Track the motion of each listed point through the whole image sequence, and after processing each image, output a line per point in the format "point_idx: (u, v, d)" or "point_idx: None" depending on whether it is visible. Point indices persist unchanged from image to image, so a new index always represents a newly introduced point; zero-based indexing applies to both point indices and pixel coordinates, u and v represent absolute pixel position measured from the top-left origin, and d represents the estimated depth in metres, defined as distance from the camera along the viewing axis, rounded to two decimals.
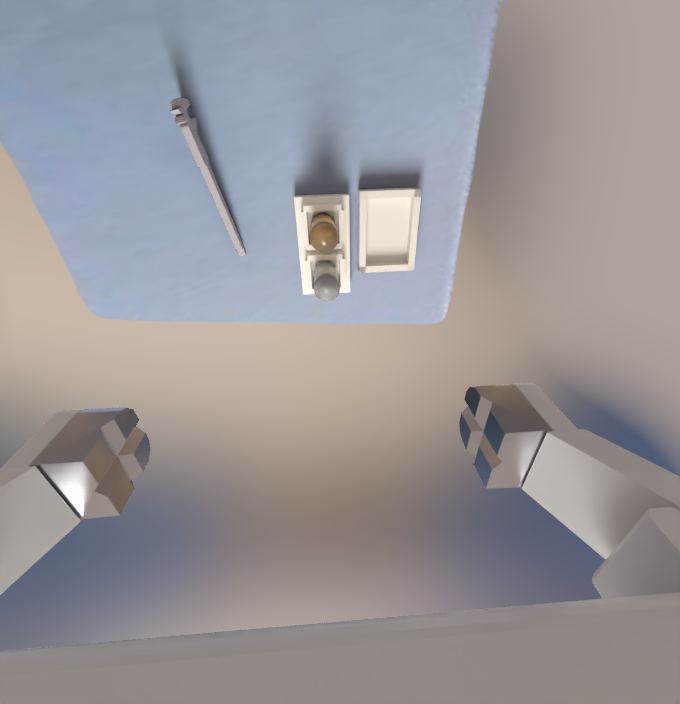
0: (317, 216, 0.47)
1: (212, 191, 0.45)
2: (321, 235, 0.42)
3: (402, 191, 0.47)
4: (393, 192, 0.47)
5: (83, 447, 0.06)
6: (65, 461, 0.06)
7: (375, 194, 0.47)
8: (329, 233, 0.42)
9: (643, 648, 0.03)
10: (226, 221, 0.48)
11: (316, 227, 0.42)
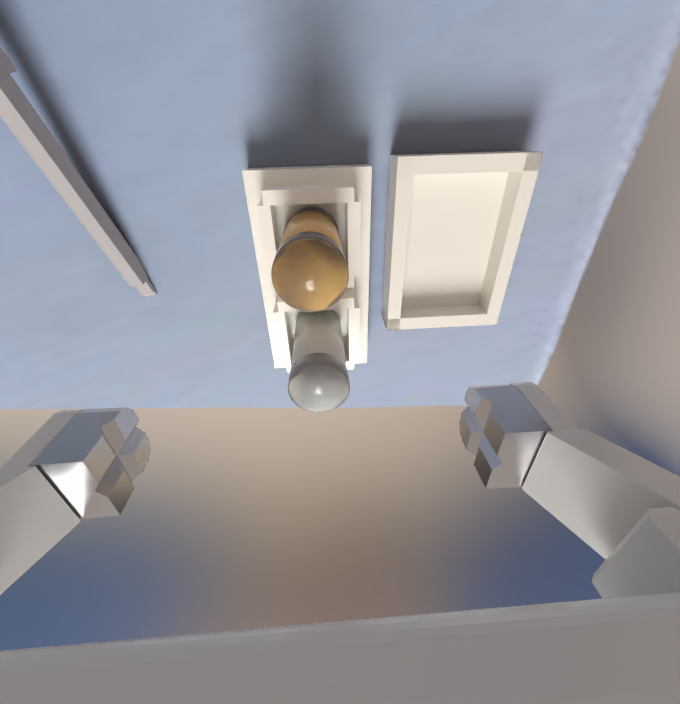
0: (297, 216, 0.20)
1: (34, 154, 0.18)
2: (302, 270, 0.15)
3: (498, 157, 0.20)
4: (476, 159, 0.20)
5: (83, 447, 0.06)
6: (65, 461, 0.06)
7: (434, 164, 0.20)
8: (324, 264, 0.15)
9: (642, 648, 0.03)
10: (92, 227, 0.21)
11: (287, 248, 0.15)
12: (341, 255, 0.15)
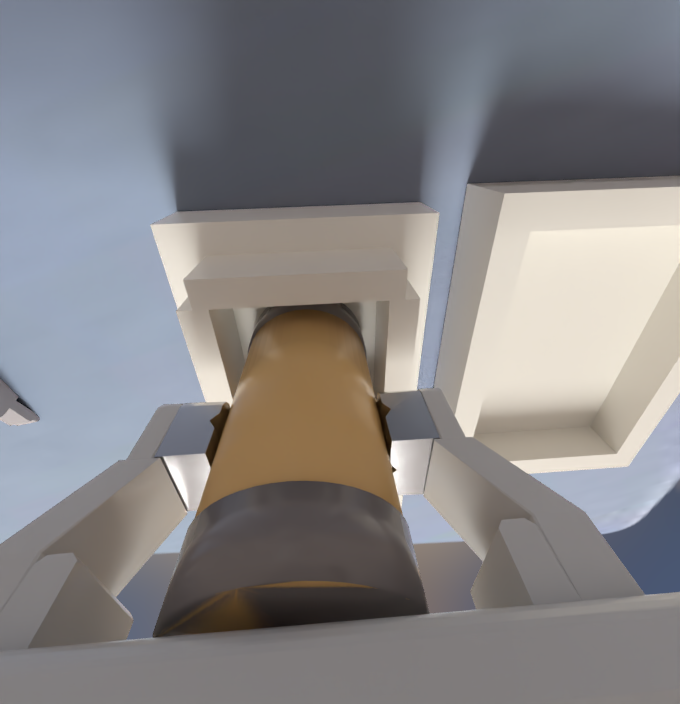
0: (273, 328, 0.09)
1: None
2: None
3: None
4: (677, 198, 0.09)
5: (200, 440, 0.06)
6: (188, 453, 0.06)
7: (583, 209, 0.09)
8: (348, 620, 0.04)
9: (643, 648, 0.03)
10: None
11: (203, 605, 0.04)
12: (413, 598, 0.04)
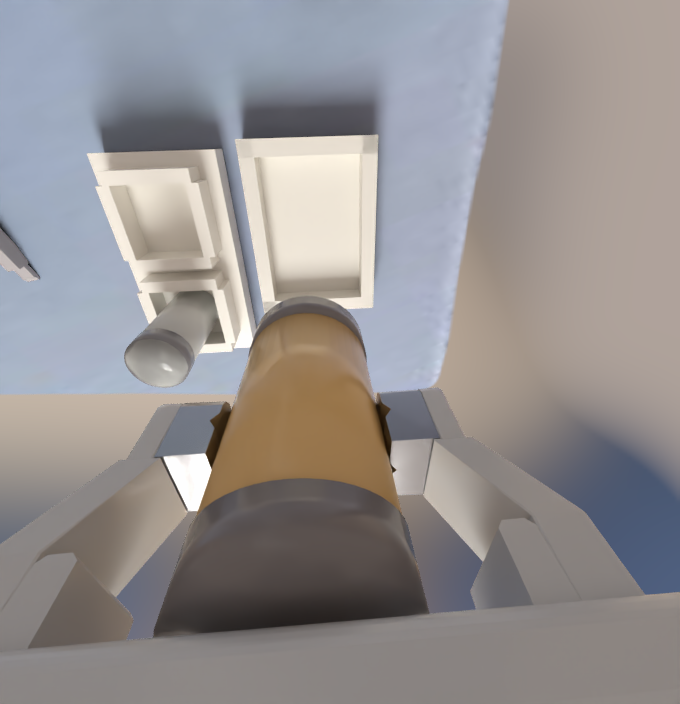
0: (274, 331, 0.09)
1: None
2: None
3: (334, 140, 0.21)
4: (313, 142, 0.21)
5: (200, 439, 0.06)
6: (188, 453, 0.06)
7: (273, 147, 0.21)
8: (348, 617, 0.04)
9: (643, 648, 0.03)
10: None
11: (204, 599, 0.04)
12: (412, 595, 0.04)
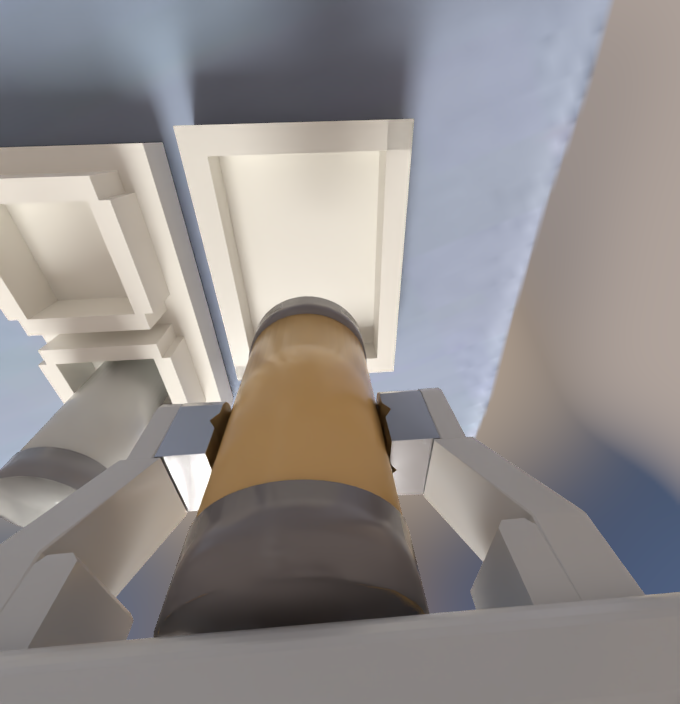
0: (274, 332, 0.09)
1: None
2: None
3: (340, 127, 0.12)
4: (306, 131, 0.12)
5: (200, 439, 0.06)
6: (188, 453, 0.06)
7: (238, 139, 0.12)
8: (349, 619, 0.04)
9: (642, 648, 0.03)
10: None
11: (205, 601, 0.04)
12: (412, 596, 0.04)
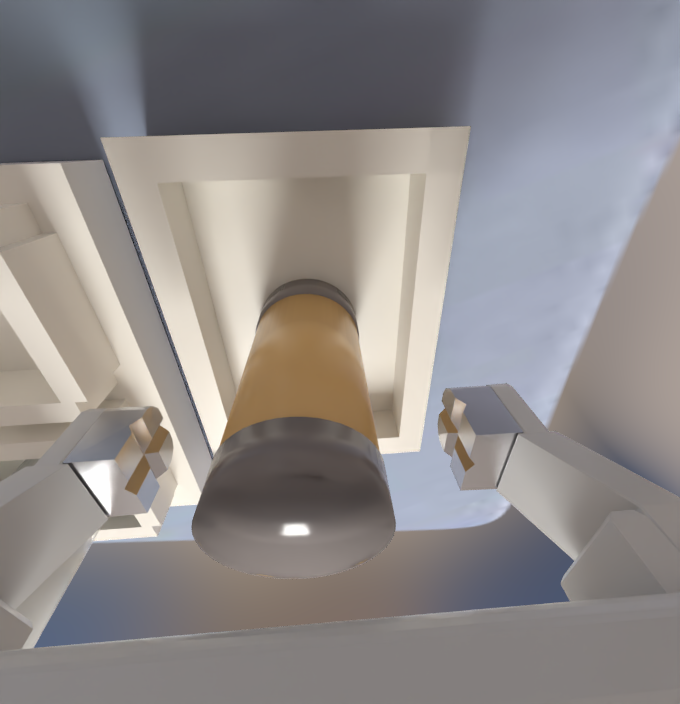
0: (278, 309, 0.10)
1: None
2: (275, 525, 0.06)
3: (358, 139, 0.08)
4: (306, 145, 0.08)
5: (114, 445, 0.06)
6: (97, 459, 0.06)
7: (203, 158, 0.08)
8: (333, 515, 0.06)
9: (643, 648, 0.03)
10: None
11: (230, 494, 0.05)
12: (380, 497, 0.06)
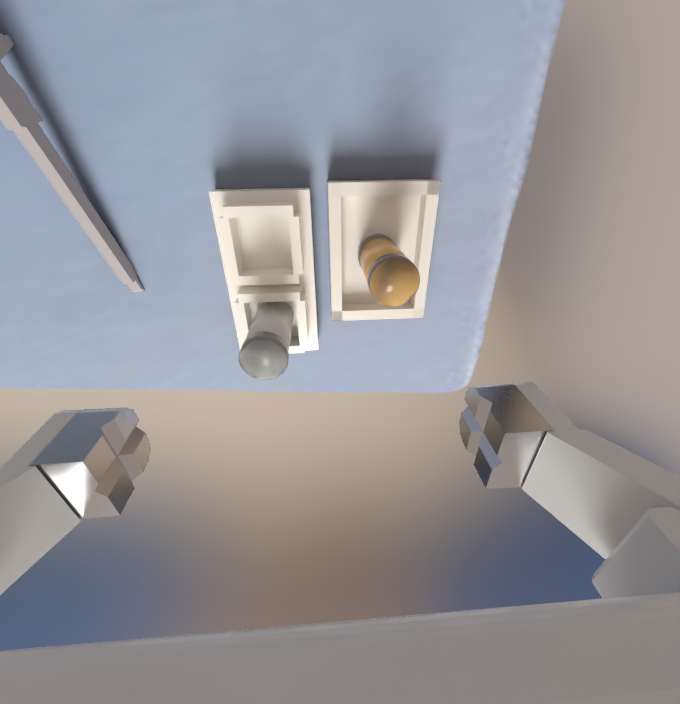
0: (372, 241, 0.28)
1: (52, 180, 0.24)
2: (390, 278, 0.23)
3: (405, 184, 0.26)
4: (389, 185, 0.26)
5: (83, 447, 0.06)
6: (65, 461, 0.06)
7: (357, 189, 0.26)
8: (405, 275, 0.23)
9: (643, 648, 0.03)
10: (93, 235, 0.27)
11: (382, 264, 0.23)
12: (416, 269, 0.23)
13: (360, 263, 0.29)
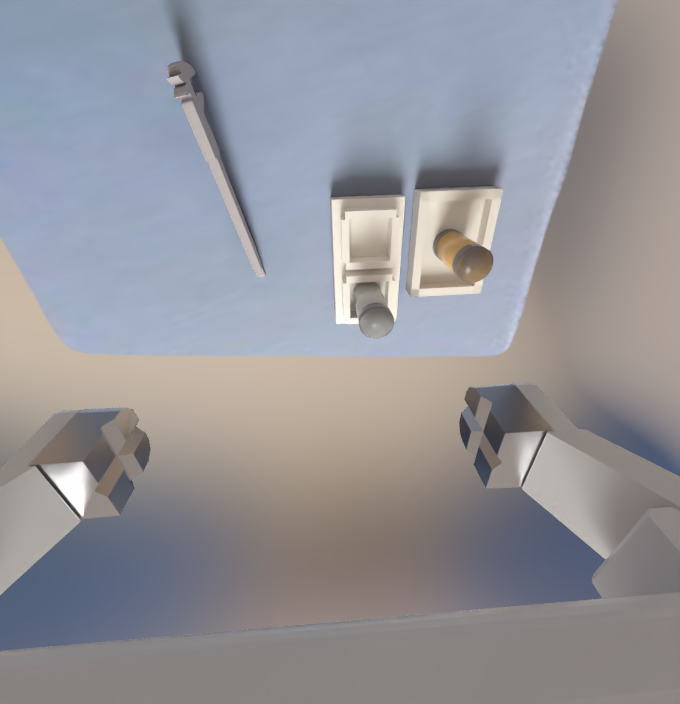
0: (449, 234, 0.37)
1: (224, 194, 0.33)
2: (472, 262, 0.33)
3: (477, 191, 0.35)
4: (465, 193, 0.35)
5: (83, 447, 0.06)
6: (65, 461, 0.06)
7: (441, 195, 0.35)
8: (482, 259, 0.32)
9: (643, 648, 0.03)
10: (242, 234, 0.36)
11: (468, 252, 0.32)
12: (491, 255, 0.32)
13: (437, 251, 0.38)
